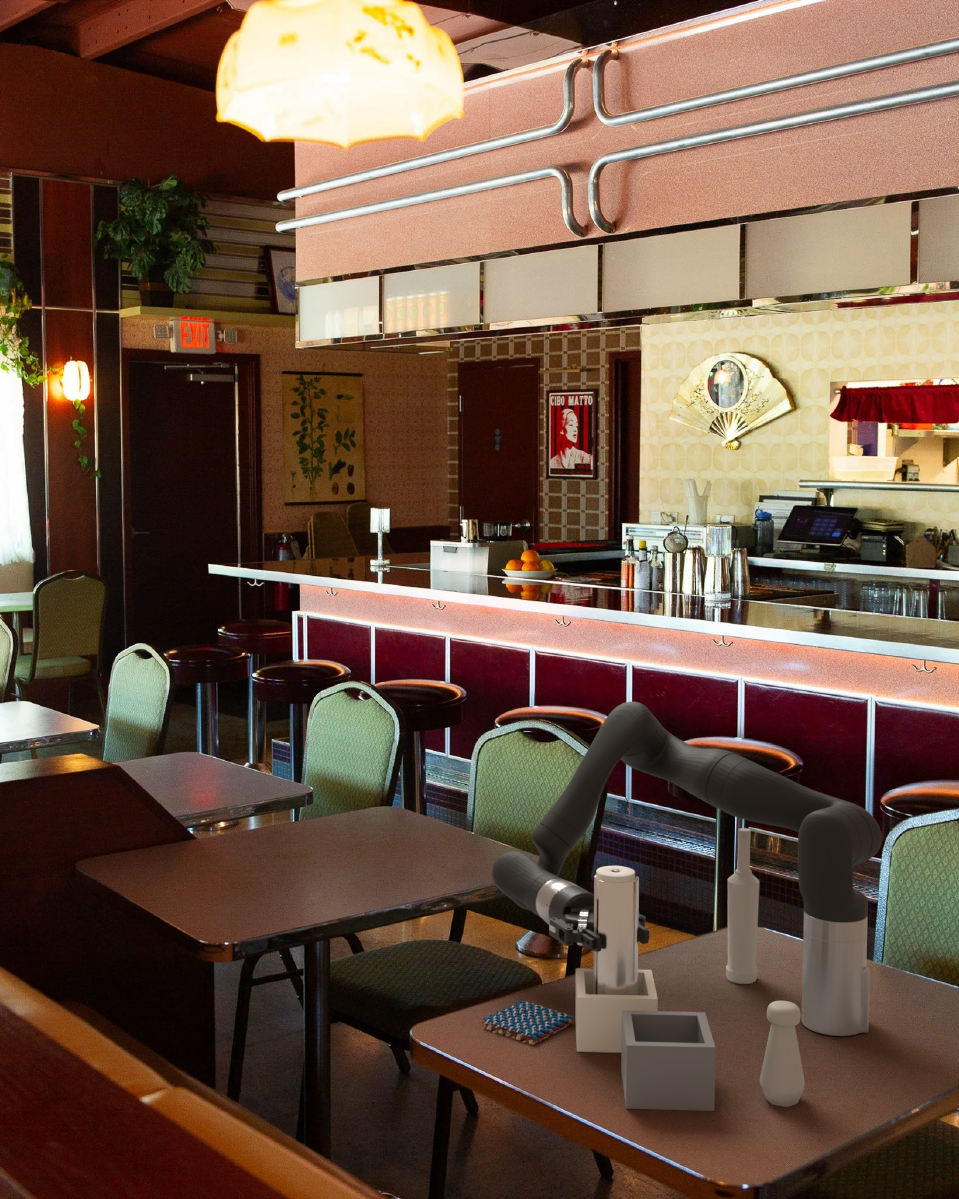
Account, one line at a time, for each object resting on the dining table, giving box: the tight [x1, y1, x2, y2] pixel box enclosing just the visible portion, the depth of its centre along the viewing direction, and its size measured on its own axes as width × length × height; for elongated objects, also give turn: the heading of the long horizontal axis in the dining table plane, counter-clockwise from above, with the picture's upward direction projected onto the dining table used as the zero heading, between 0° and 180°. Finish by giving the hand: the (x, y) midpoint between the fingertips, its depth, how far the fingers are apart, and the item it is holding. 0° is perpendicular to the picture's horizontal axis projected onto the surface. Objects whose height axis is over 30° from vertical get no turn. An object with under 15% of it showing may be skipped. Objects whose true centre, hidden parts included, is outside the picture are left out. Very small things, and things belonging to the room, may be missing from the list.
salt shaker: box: [759, 1000, 806, 1108], centre depth 171 cm, size 6×6×13 cm
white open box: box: [574, 967, 659, 1054], centre depth 191 cm, size 11×11×8 cm
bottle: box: [725, 827, 760, 985], centre depth 213 cm, size 5×5×25 cm
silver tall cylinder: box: [593, 865, 640, 995], centre depth 191 cm, size 6×6×25 cm
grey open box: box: [620, 1010, 716, 1112], centre depth 174 cm, size 11×11×8 cm
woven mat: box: [481, 1000, 574, 1046], centre depth 195 cm, size 10×11×2 cm
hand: (623, 941), depth 188 cm, fingers open, 7 cm apart
